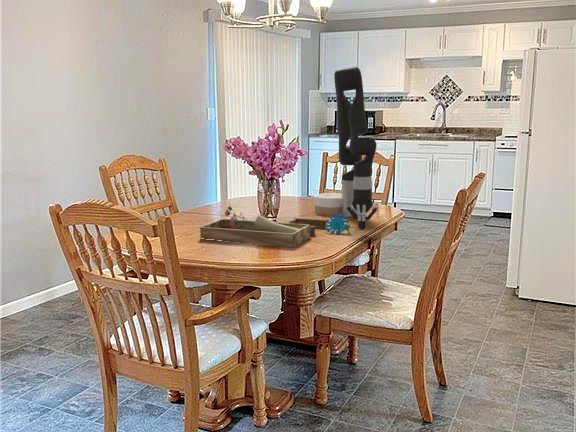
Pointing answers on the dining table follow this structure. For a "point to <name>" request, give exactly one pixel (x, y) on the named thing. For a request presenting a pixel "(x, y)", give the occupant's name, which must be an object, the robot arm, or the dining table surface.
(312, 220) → the cradle
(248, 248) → the dining table surface
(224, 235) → the wooden tray
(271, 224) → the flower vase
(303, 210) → the dining table surface
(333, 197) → the bowl
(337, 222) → the gear
